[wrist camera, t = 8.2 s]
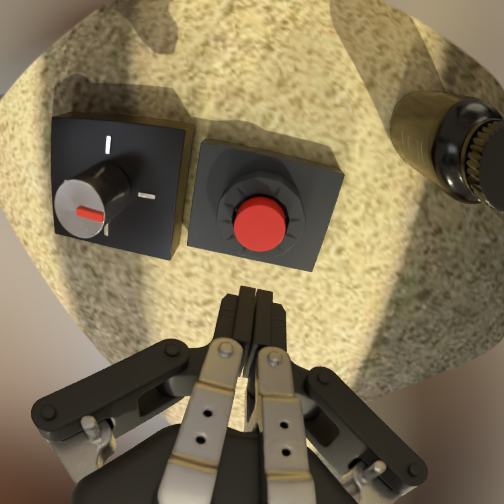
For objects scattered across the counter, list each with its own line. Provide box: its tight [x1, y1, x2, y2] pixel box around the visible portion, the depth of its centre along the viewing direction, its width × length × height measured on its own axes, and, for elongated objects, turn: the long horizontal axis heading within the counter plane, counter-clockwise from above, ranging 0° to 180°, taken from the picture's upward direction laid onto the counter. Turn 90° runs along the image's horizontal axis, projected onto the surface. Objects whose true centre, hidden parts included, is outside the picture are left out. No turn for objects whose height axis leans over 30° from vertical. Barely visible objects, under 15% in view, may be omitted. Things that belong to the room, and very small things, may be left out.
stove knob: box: [54, 162, 130, 238], centre depth 21 cm, size 4×4×5 cm
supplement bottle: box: [390, 91, 504, 212], centre depth 17 cm, size 7×7×12 cm
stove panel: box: [51, 112, 195, 260], centre depth 24 cm, size 12×11×3 cm
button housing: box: [187, 139, 345, 272], centre depth 25 cm, size 11×9×4 cm
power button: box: [234, 196, 286, 251], centre depth 23 cm, size 4×4×2 cm
